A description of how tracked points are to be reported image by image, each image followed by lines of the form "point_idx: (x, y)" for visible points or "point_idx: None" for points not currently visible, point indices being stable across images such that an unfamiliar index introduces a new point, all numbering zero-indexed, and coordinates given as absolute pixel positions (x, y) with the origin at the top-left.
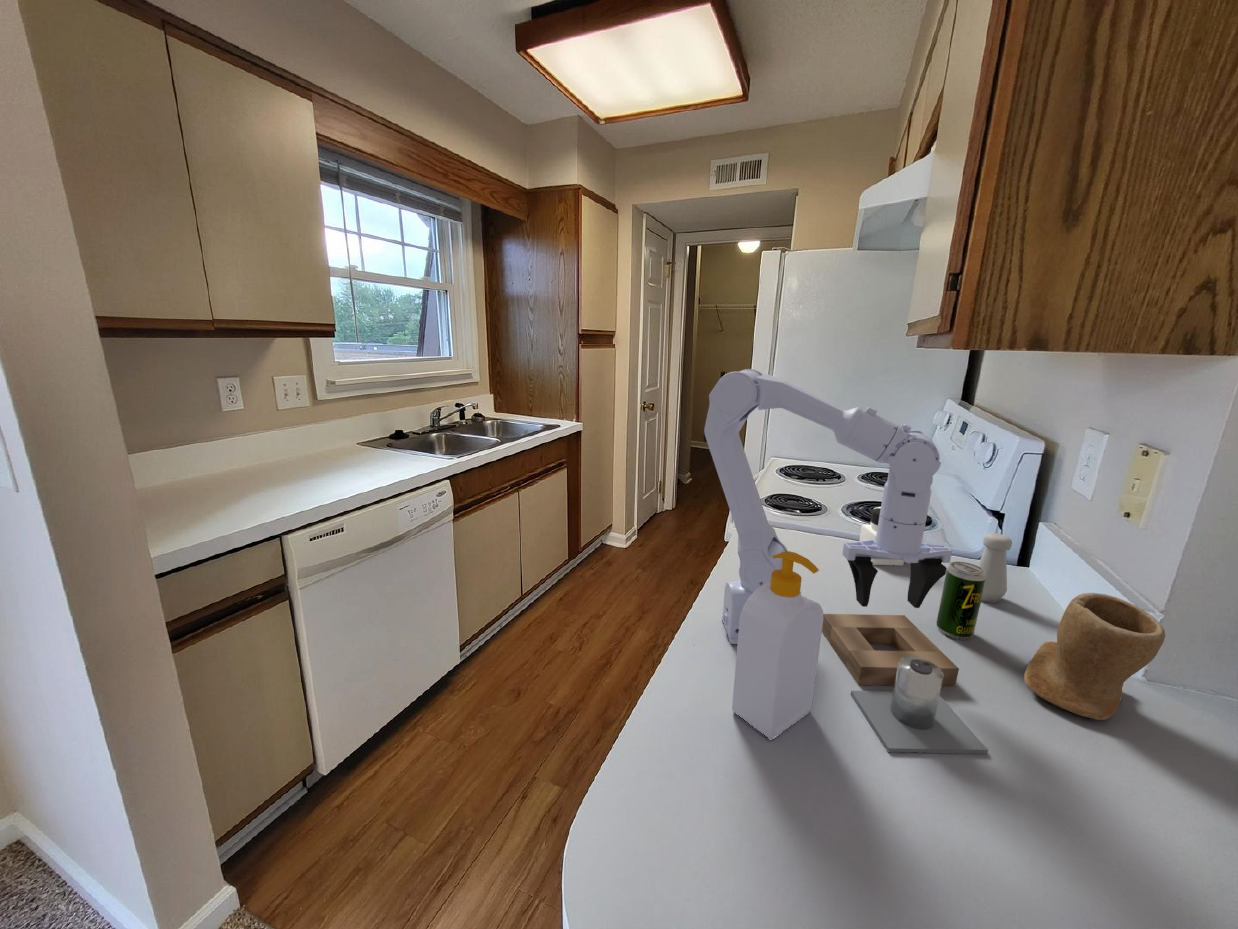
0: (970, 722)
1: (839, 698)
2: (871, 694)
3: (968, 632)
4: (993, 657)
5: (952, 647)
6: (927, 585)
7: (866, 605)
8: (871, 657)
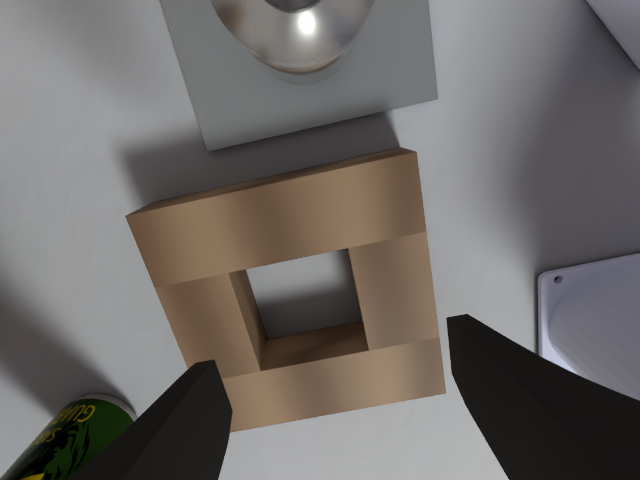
0: (150, 58)
1: (469, 75)
2: (386, 95)
3: (66, 411)
4: (34, 343)
5: (121, 360)
6: (106, 474)
7: (454, 318)
8: (368, 210)
